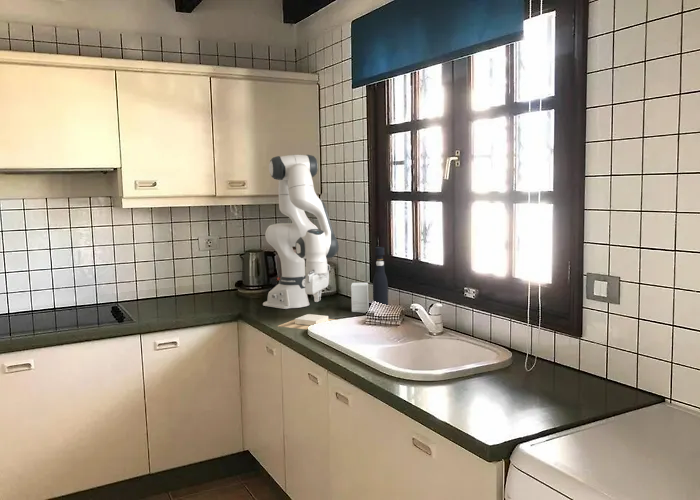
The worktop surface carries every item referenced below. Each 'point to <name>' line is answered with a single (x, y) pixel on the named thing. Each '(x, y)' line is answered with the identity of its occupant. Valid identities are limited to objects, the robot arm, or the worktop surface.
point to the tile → (311, 319)
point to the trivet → (296, 325)
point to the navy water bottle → (380, 279)
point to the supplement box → (359, 297)
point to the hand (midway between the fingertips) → (317, 301)
